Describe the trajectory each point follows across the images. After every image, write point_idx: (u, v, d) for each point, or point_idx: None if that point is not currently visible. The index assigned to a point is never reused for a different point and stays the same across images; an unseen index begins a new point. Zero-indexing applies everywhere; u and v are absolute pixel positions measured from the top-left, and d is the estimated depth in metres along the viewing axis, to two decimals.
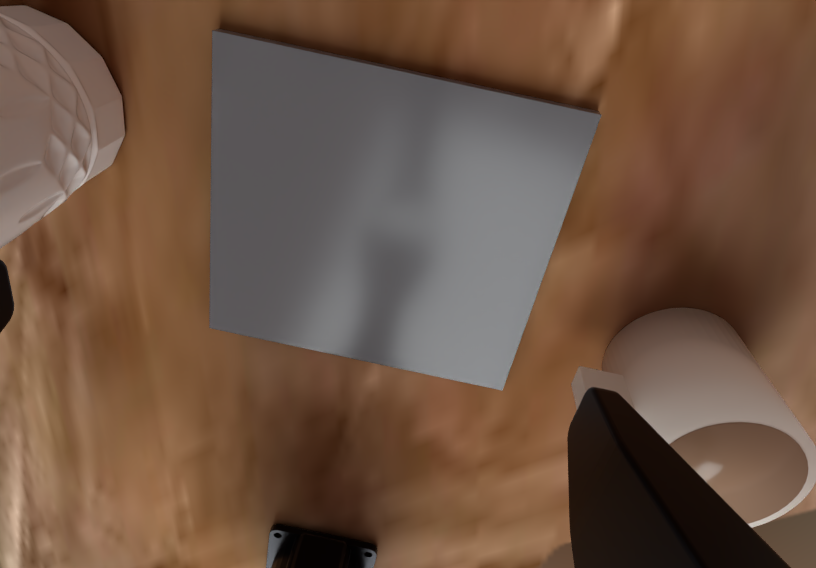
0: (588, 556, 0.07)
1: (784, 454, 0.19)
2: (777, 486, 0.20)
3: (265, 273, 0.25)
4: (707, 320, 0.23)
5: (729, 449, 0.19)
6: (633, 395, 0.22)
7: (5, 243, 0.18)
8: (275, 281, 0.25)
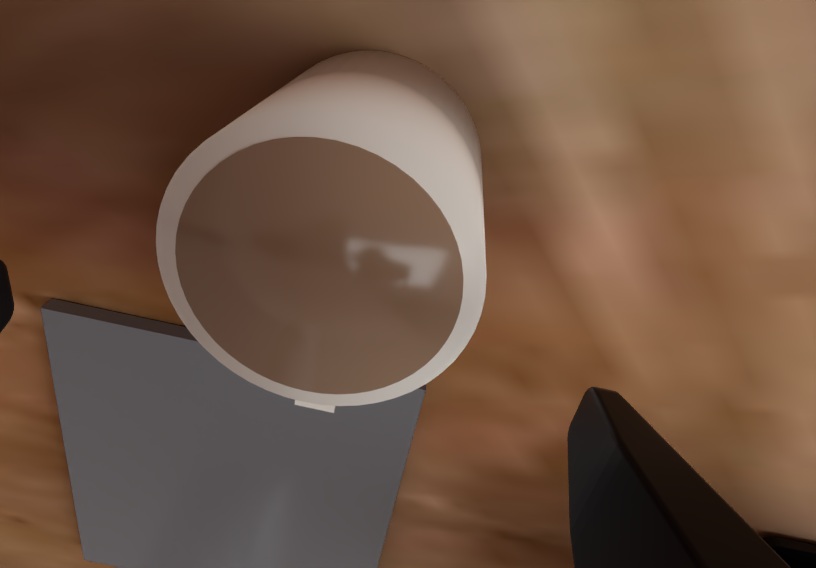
0: (588, 556, 0.07)
1: (229, 200, 0.10)
2: (325, 184, 0.09)
3: None
4: None
5: (243, 290, 0.10)
6: None
7: None
8: (298, 565, 0.24)
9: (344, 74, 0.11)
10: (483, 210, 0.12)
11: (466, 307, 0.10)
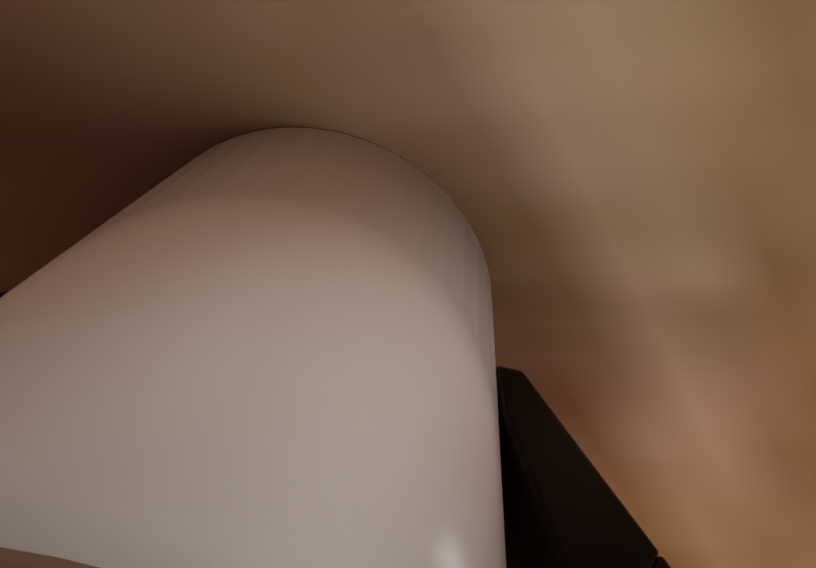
0: None
1: None
2: None
3: None
4: None
5: None
6: None
7: None
8: None
9: (206, 219, 0.05)
10: None
11: None
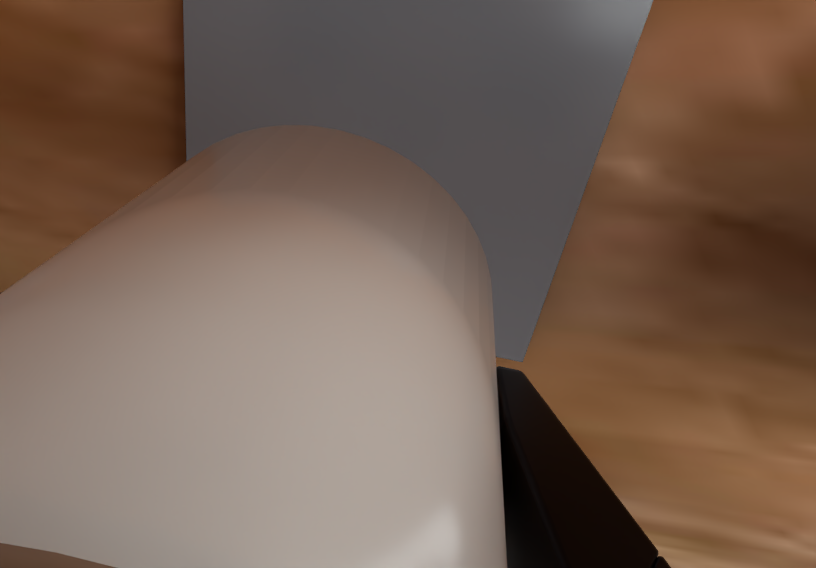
0: None
1: None
2: None
3: None
4: None
5: None
6: None
7: None
8: None
9: (206, 216, 0.05)
10: (501, 468, 0.06)
11: None
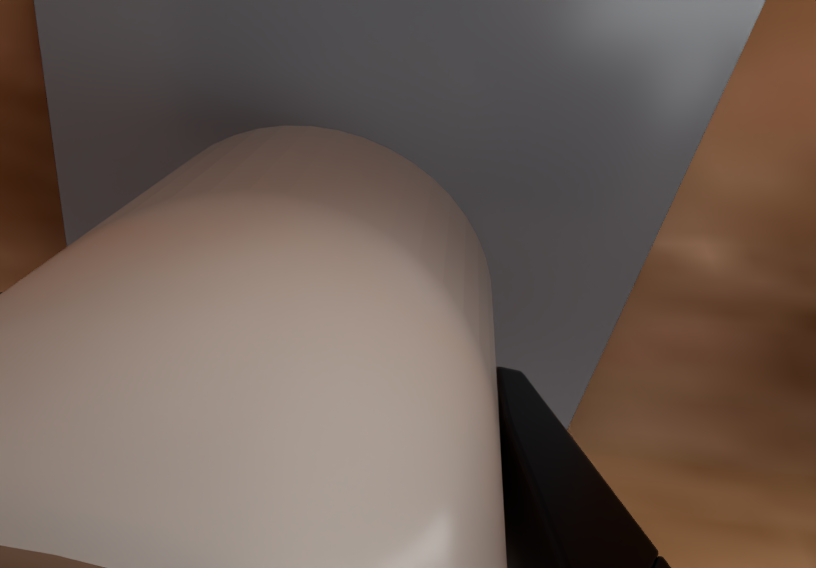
0: None
1: None
2: None
3: None
4: None
5: None
6: None
7: None
8: None
9: (206, 216, 0.05)
10: (501, 469, 0.06)
11: None
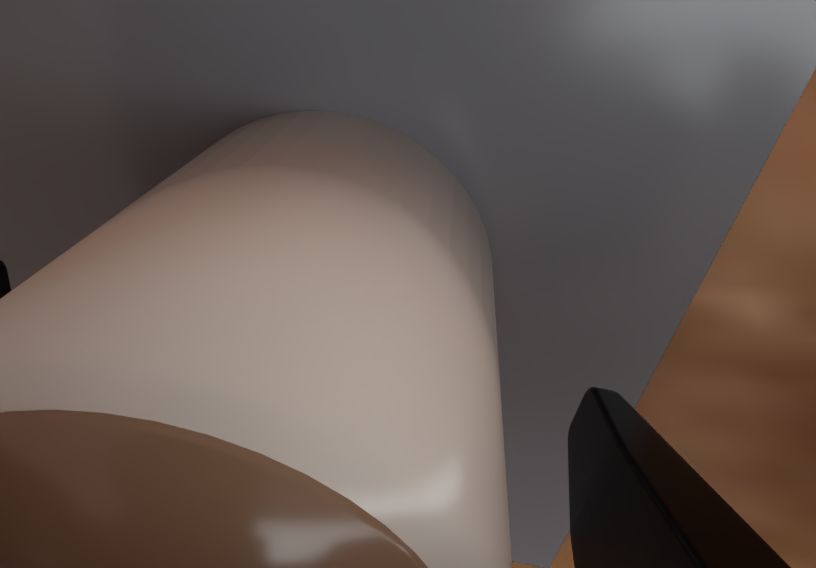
0: (588, 556, 0.07)
1: None
2: (147, 495, 0.04)
3: None
4: None
5: None
6: None
7: None
8: None
9: (245, 183, 0.06)
10: None
11: None
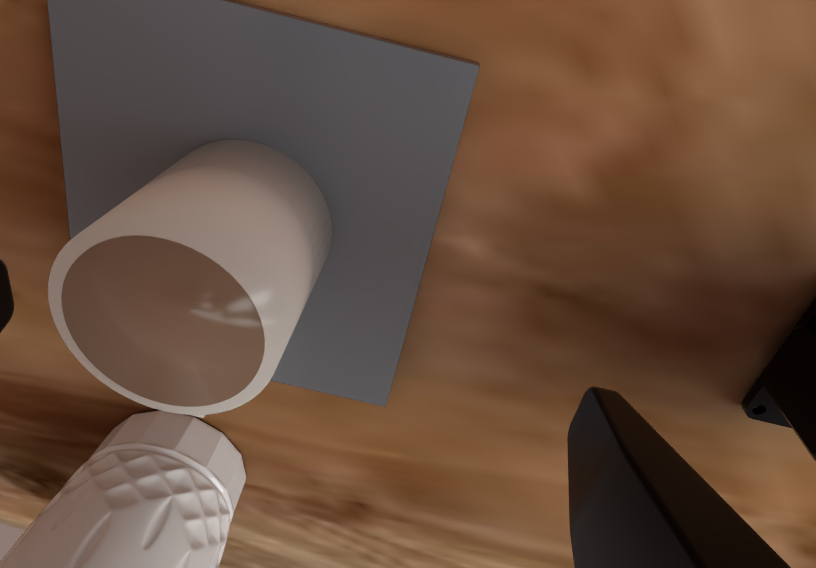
0: (588, 556, 0.07)
1: (96, 273, 0.14)
2: (161, 265, 0.14)
3: (309, 341, 0.23)
4: None
5: (112, 333, 0.15)
6: None
7: (167, 564, 0.21)
8: (319, 334, 0.22)
9: (197, 174, 0.16)
10: (305, 272, 0.17)
11: (268, 349, 0.15)
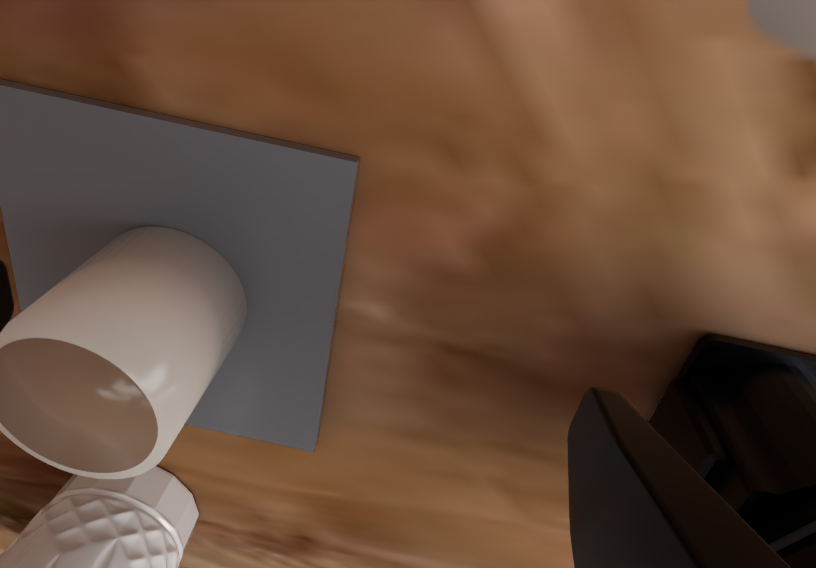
0: (588, 556, 0.07)
1: (8, 368, 0.16)
2: (61, 361, 0.16)
3: (239, 395, 0.25)
4: None
5: (28, 414, 0.17)
6: None
7: None
8: (246, 389, 0.25)
9: (105, 270, 0.18)
10: (206, 350, 0.19)
11: (160, 427, 0.17)
